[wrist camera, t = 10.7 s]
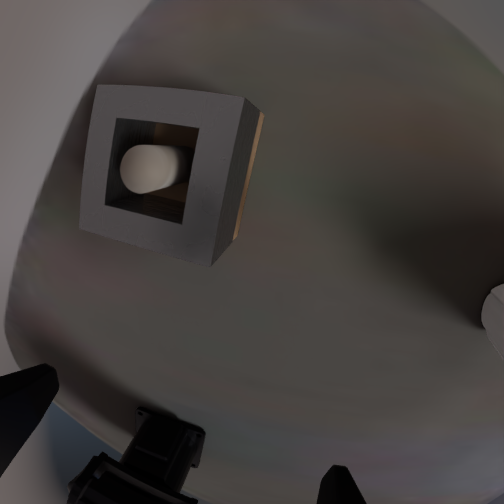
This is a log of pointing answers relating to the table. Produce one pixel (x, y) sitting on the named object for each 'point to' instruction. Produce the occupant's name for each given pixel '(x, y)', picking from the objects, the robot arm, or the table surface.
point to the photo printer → (494, 318)
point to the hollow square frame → (201, 179)
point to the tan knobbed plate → (171, 164)
